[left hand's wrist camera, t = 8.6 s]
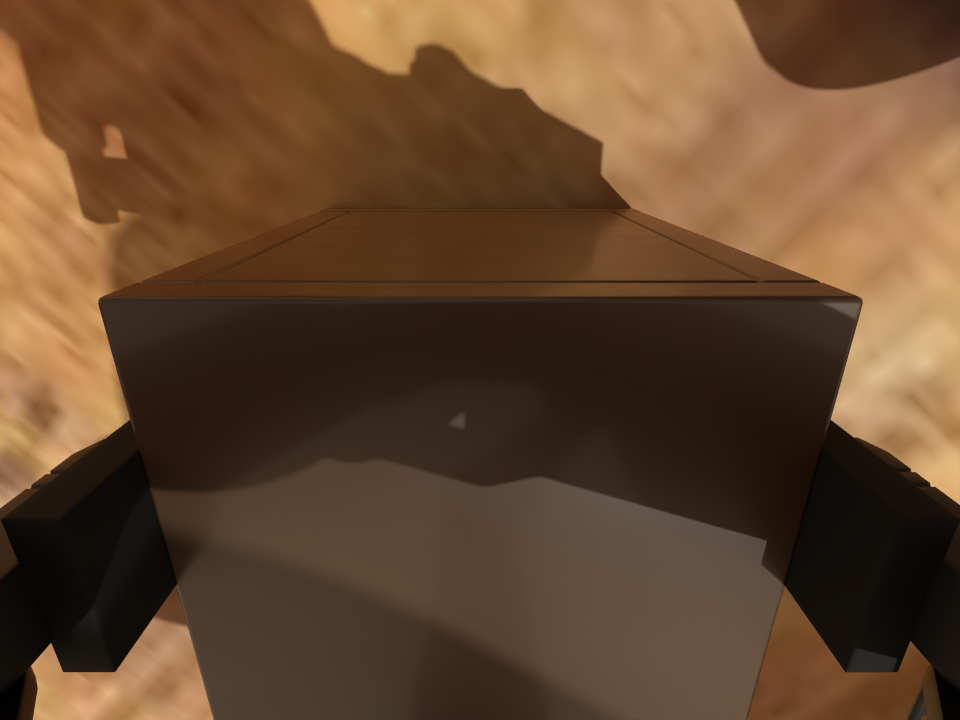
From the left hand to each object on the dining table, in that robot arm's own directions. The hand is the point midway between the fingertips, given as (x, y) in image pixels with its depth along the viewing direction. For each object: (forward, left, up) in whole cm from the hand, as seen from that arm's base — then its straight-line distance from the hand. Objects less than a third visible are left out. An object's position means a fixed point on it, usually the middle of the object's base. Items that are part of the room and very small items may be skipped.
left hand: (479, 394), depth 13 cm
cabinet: (+6, -4, -7) cm, 10 cm away
